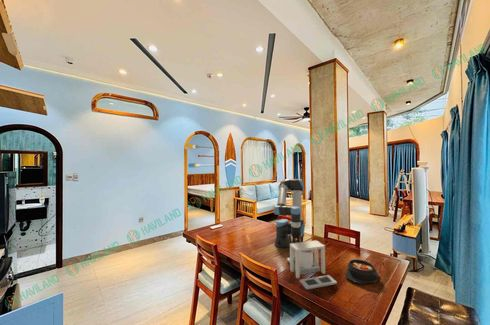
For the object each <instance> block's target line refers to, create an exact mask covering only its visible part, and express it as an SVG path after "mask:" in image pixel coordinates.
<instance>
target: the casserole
mask: <svg viewBox="0 0 490 325" xmlns="http://www.w3.org/2000/svg"><path fill="white" fill-rule="evenodd" d="M346 265H347V268H346V270H345V271H346V272H345V273H344V276H345V278H347V279H348V280H350V281H352V282H353V283H355V284H356V283H357V284H360V285H365V284H370V283H371V284H372V283H376V282H378V281H379V273H378V271H377V269H376V267H375V266H374V265H373V264H372V263H370V262H369V261H365V260H361V259H350V260H349V261H348V262H347V264H346Z"/></svg>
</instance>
